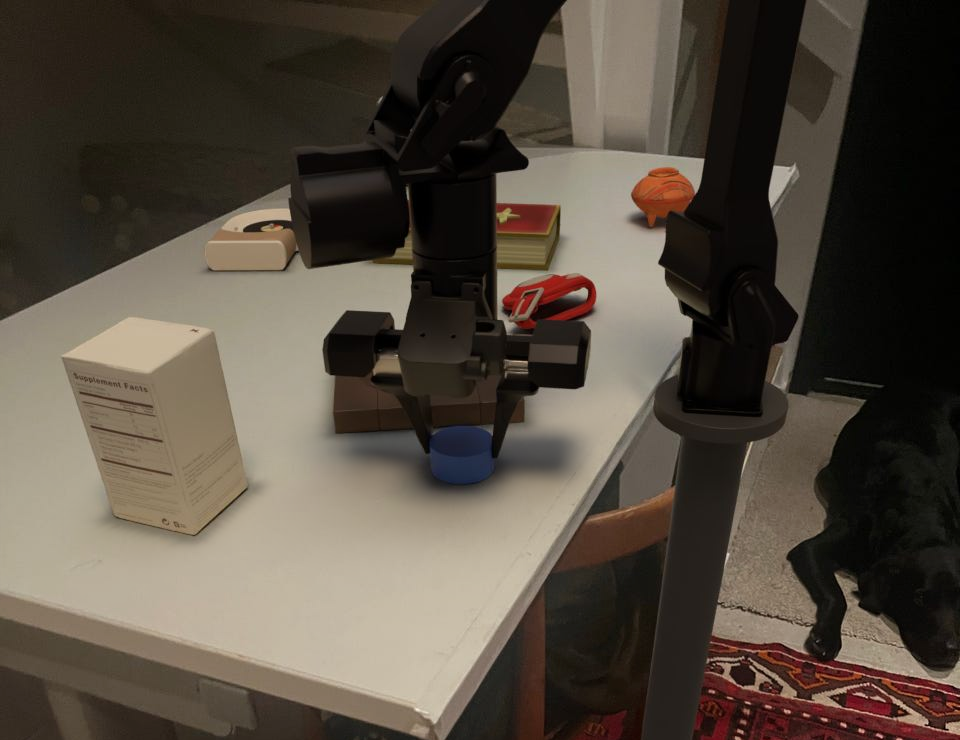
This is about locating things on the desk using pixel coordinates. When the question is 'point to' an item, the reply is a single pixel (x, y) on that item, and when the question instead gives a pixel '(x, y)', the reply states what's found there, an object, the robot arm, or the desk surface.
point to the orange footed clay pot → (662, 193)
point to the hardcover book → (512, 237)
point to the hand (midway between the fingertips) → (461, 454)
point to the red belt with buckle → (547, 297)
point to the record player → (253, 242)
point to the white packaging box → (159, 422)
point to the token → (461, 454)
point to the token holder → (382, 411)
